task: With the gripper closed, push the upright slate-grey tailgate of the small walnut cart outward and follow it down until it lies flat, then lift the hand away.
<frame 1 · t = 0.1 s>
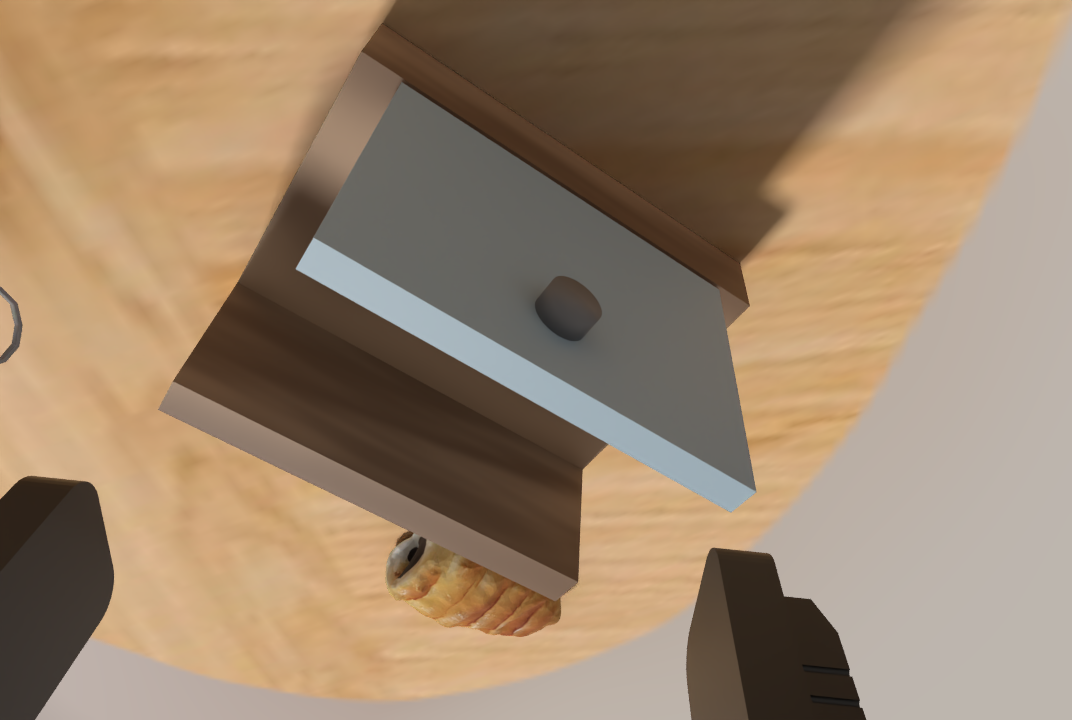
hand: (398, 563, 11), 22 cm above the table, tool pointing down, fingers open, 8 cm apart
pastry: (475, 552, 46), on the table
cart bed: (488, 266, 35), on the table
tailgate: (562, 272, 25), point 8 cm above the table, hinge at 0.0°
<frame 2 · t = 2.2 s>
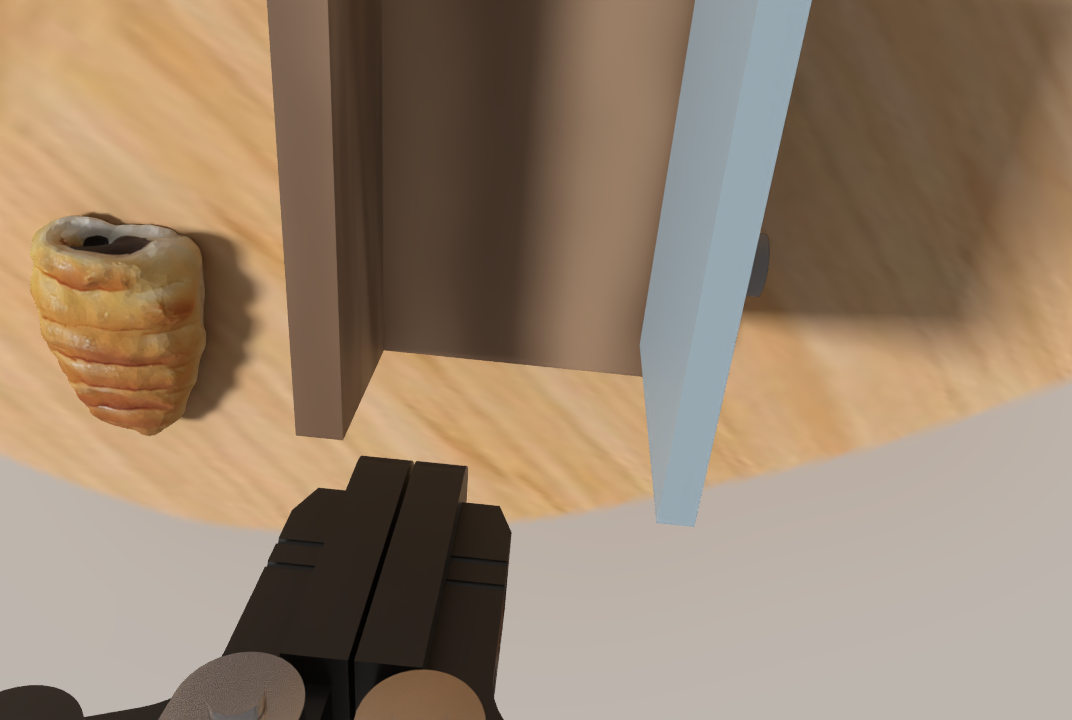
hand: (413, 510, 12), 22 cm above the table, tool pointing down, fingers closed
pastry: (145, 302, 36), on the table
cart bed: (523, 130, 31), on the table
tailgate: (713, 227, 24), point 8 cm above the table, hinge at 0.0°
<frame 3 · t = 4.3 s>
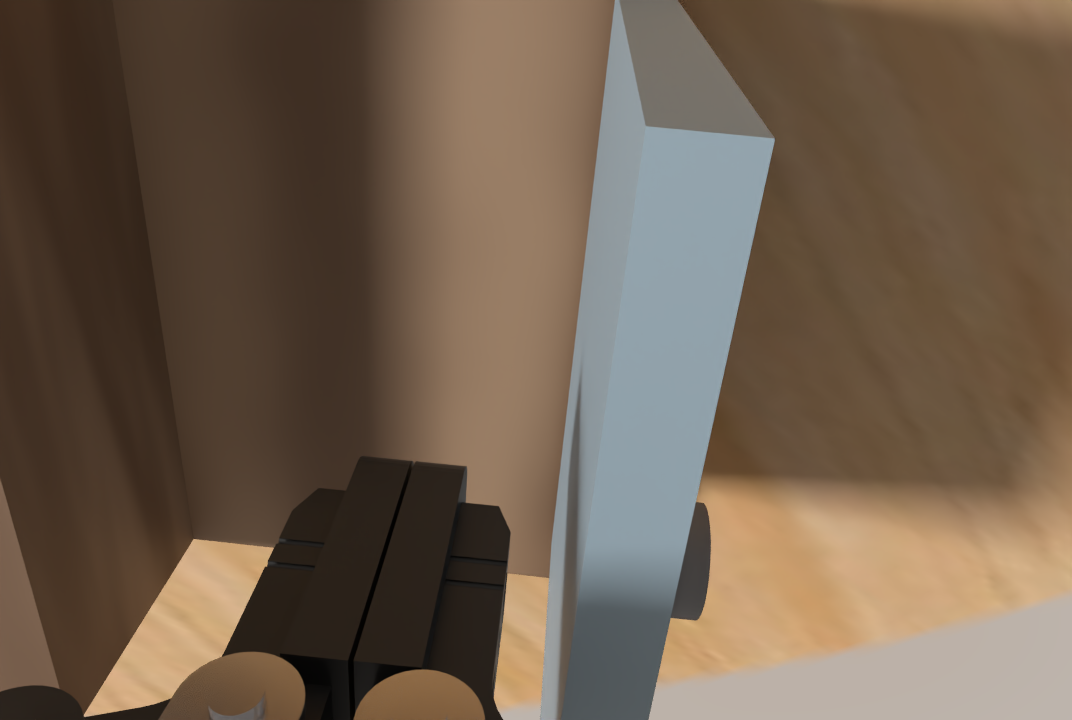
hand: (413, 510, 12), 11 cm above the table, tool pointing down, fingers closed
cart bed: (383, 234, 21), on the table
tailgate: (627, 450, 14), point 8 cm above the table, hinge at 0.6°, touching gripper
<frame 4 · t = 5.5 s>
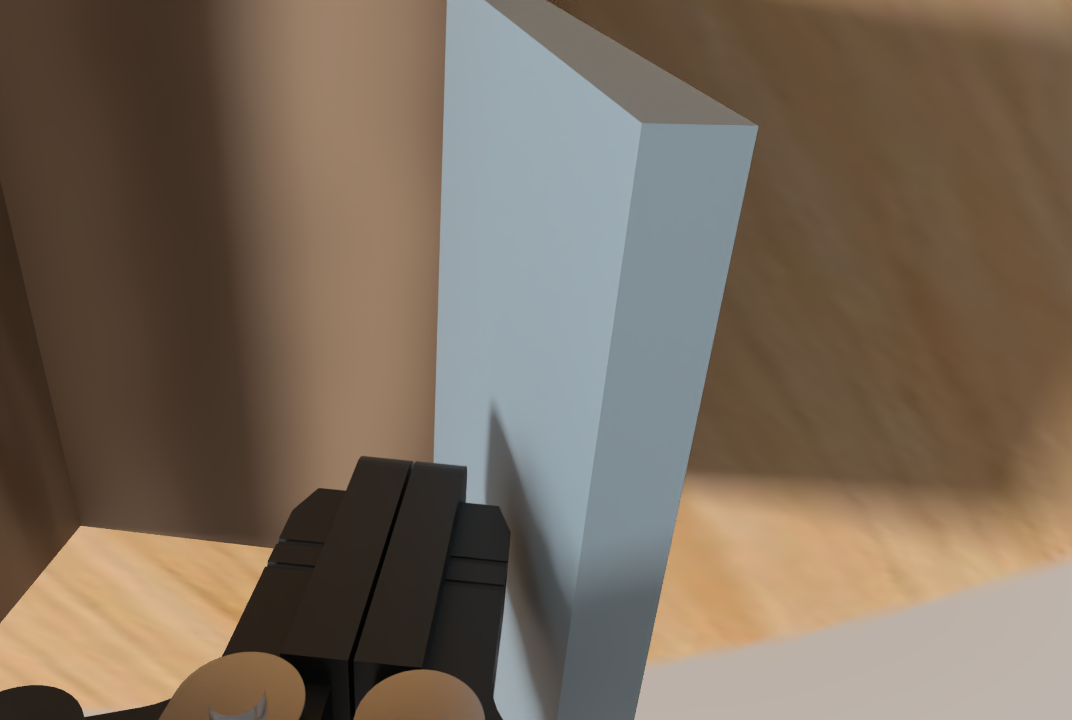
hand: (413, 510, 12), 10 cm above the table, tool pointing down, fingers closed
cart bed: (263, 221, 21), on the table
tailgate: (534, 436, 14), point 8 cm above the table, hinge at 18.2°, touching gripper
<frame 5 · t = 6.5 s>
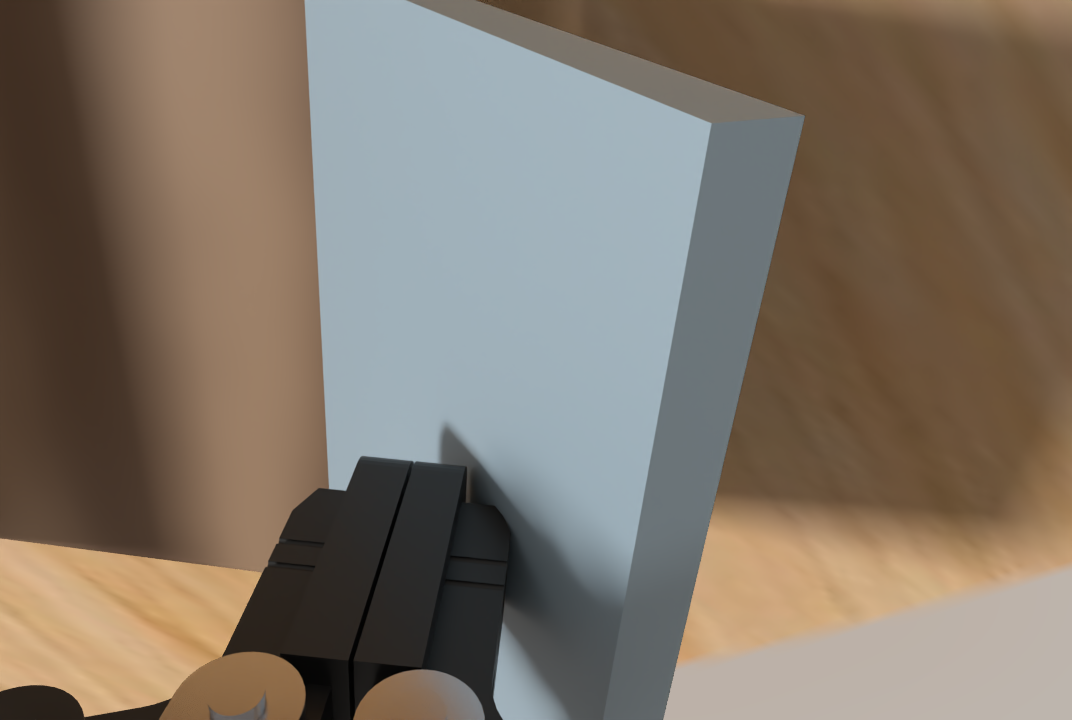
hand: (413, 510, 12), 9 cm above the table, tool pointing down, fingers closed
cart bed: (158, 221, 21), on the table
tailgate: (476, 442, 14), point 7 cm above the table, hinge at 36.1°, touching gripper
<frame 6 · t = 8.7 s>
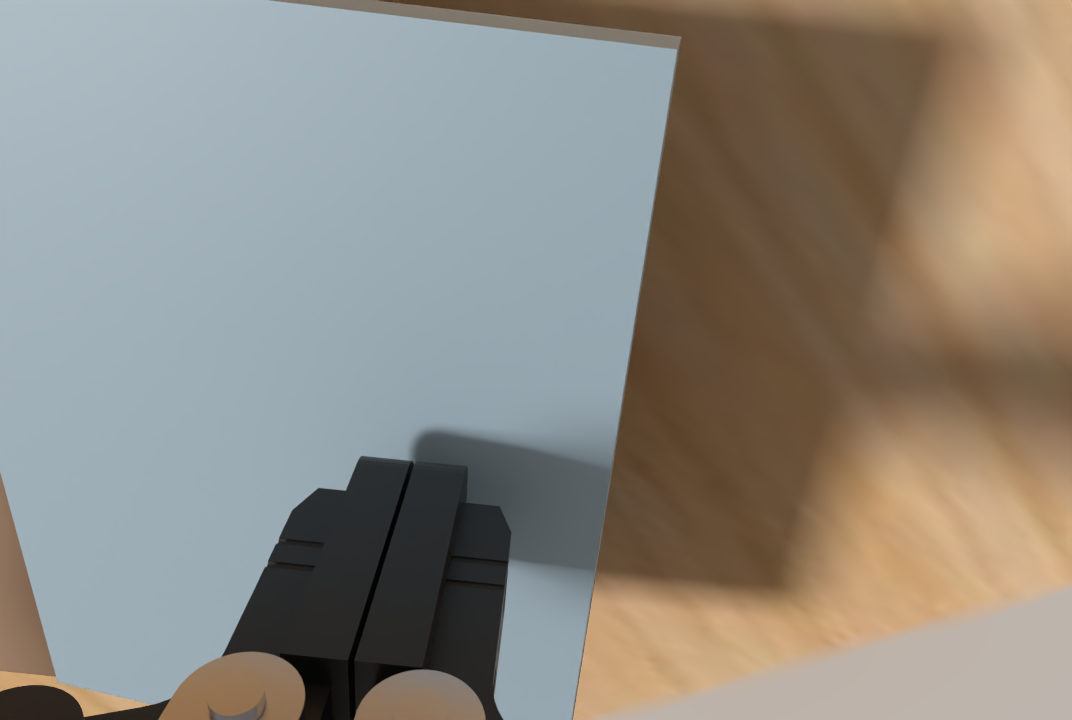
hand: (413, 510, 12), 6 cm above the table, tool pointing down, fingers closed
tailgate: (302, 426, 14), point 4 cm above the table, hinge at 82.1°
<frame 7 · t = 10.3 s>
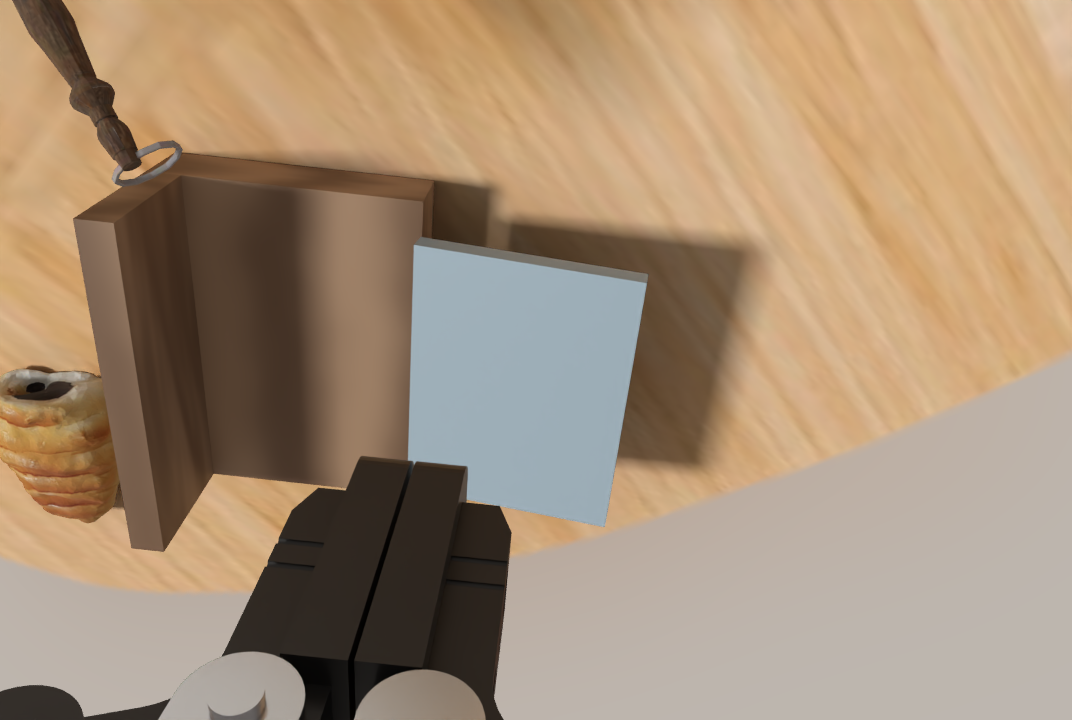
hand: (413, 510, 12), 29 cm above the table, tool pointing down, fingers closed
pastry: (79, 424, 48), on the table
cart bed: (310, 320, 43), on the table
tailgate: (519, 385, 40), point 4 cm above the table, hinge at 82.1°
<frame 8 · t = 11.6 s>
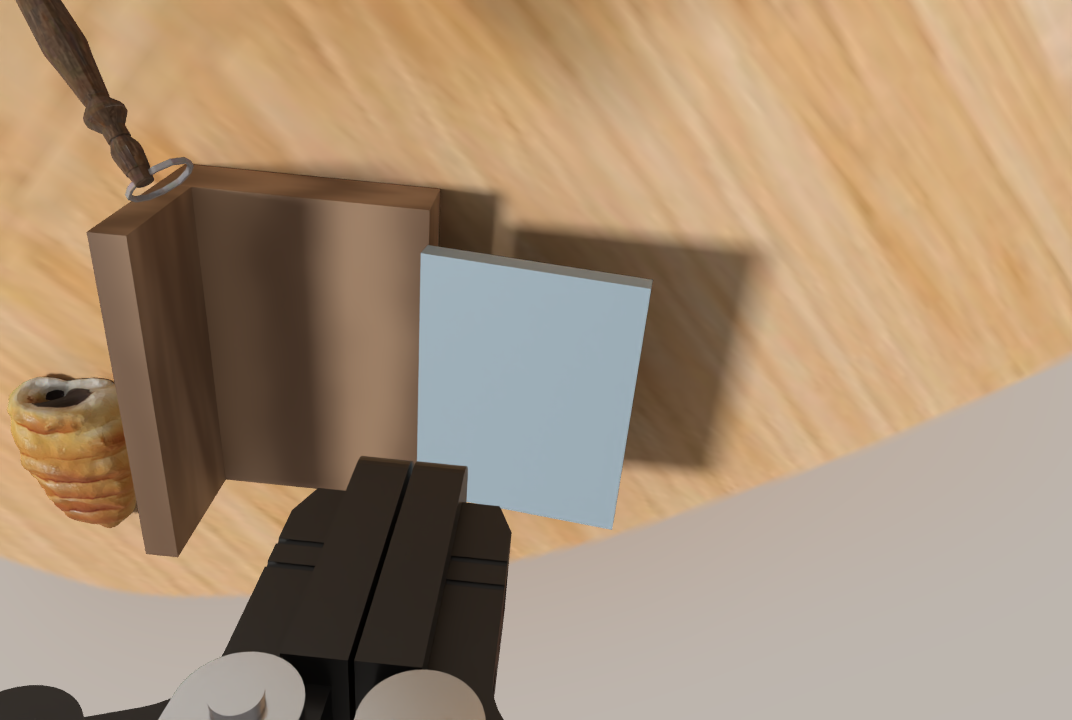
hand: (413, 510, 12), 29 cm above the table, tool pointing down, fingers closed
pastry: (98, 430, 49), on the table
cart bed: (319, 328, 44), on the table
tailgate: (526, 390, 40), point 4 cm above the table, hinge at 82.1°
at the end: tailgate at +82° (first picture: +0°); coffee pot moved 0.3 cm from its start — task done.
